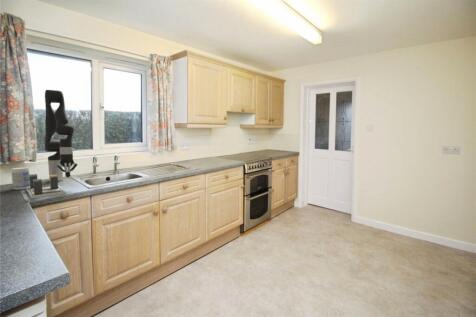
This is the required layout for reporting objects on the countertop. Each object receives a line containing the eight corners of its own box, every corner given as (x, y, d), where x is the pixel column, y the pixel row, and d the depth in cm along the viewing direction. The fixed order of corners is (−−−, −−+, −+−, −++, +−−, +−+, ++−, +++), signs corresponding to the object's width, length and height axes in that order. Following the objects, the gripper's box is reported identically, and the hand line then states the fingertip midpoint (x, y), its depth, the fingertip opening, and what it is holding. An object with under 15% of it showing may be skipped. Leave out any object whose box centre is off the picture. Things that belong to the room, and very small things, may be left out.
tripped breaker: (50, 187, 178) (49, 175, 177) (57, 186, 181) (56, 174, 180) (51, 188, 176) (50, 176, 175) (58, 187, 178) (57, 175, 177)
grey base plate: (26, 189, 179) (25, 174, 178) (57, 186, 191) (56, 171, 190) (31, 198, 159) (29, 181, 158) (65, 193, 171) (64, 177, 170)
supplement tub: (28, 189, 181) (26, 168, 179) (10, 190, 177) (9, 169, 175) (32, 186, 190) (30, 166, 188) (15, 187, 185) (13, 167, 184)
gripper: (75, 152, 189) (77, 175, 191) (54, 153, 179) (55, 177, 181) (78, 153, 183) (79, 176, 185) (56, 154, 174) (57, 179, 176)
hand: (67, 177), depth 183 cm, fingers closed
